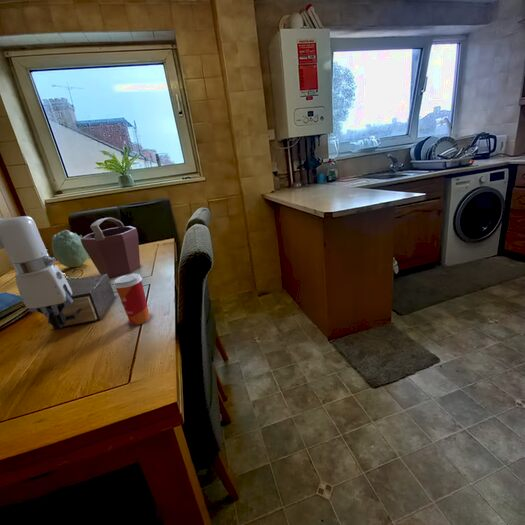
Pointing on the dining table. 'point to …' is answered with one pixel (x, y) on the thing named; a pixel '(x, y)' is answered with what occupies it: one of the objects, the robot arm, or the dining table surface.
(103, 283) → the cabinet
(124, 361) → the dining table surface
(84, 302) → the drawer
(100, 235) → the bucket
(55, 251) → the cabbage
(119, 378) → the dining table surface
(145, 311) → the paper cup
